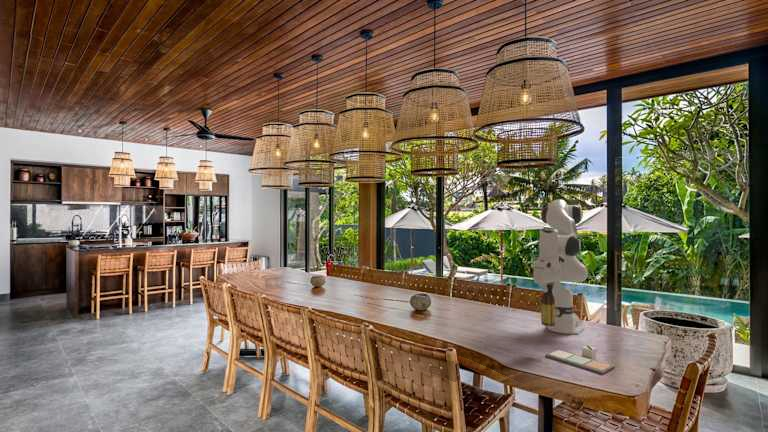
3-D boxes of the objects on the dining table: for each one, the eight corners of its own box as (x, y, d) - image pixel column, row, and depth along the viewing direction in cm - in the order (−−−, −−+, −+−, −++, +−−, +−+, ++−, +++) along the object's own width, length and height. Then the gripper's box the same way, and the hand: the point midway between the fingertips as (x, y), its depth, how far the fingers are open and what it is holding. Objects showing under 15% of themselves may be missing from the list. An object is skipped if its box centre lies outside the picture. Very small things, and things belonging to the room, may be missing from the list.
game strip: (558, 351, 187) (558, 348, 186) (614, 368, 167) (614, 365, 167) (545, 356, 179) (545, 354, 179) (602, 374, 159) (602, 371, 159)
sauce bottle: (551, 323, 188) (552, 282, 188) (557, 327, 182) (558, 284, 182) (538, 323, 188) (539, 282, 188) (544, 326, 181) (545, 284, 181)
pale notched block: (586, 355, 182) (586, 344, 182) (596, 357, 179) (596, 347, 179) (581, 357, 180) (582, 346, 180) (591, 360, 176) (592, 349, 176)
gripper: (553, 260, 193) (553, 288, 193) (530, 263, 181) (530, 292, 181) (566, 261, 188) (565, 290, 188) (543, 264, 176) (543, 295, 176)
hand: (548, 291), depth 184 cm, fingers closed on sauce bottle, 4 cm apart
